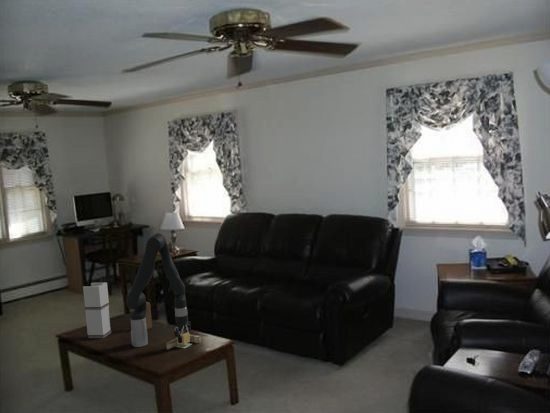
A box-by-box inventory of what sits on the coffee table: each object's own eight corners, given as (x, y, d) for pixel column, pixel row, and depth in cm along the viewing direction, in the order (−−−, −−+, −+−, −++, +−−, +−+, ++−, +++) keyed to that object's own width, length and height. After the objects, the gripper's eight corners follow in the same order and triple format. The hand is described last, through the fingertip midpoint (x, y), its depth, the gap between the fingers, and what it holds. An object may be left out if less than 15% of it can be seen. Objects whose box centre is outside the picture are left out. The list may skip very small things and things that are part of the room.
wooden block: (140, 331, 336) (138, 305, 334) (137, 329, 339) (135, 304, 338) (152, 327, 342) (150, 302, 340) (149, 326, 345) (147, 301, 344)
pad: (175, 346, 302) (175, 346, 302) (183, 342, 308) (183, 342, 308) (184, 348, 298) (184, 348, 298) (192, 344, 305) (192, 343, 305)
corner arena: (166, 349, 299) (166, 343, 298) (185, 339, 313) (184, 333, 313) (183, 352, 292) (182, 345, 292) (201, 342, 307) (200, 336, 306)
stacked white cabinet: (111, 332, 337) (106, 282, 334) (103, 338, 327) (98, 286, 324) (96, 332, 339) (91, 282, 336) (87, 338, 329) (82, 286, 326)
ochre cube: (184, 344, 299) (183, 335, 299) (177, 343, 302) (176, 334, 301) (190, 341, 304) (189, 332, 303) (183, 340, 307) (182, 331, 306)
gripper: (178, 318, 293) (180, 345, 295) (193, 311, 306) (195, 337, 307) (168, 317, 297) (171, 344, 299) (184, 310, 310) (186, 336, 311)
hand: (183, 340), depth 303 cm, fingers closed on ochre cube, 5 cm apart
